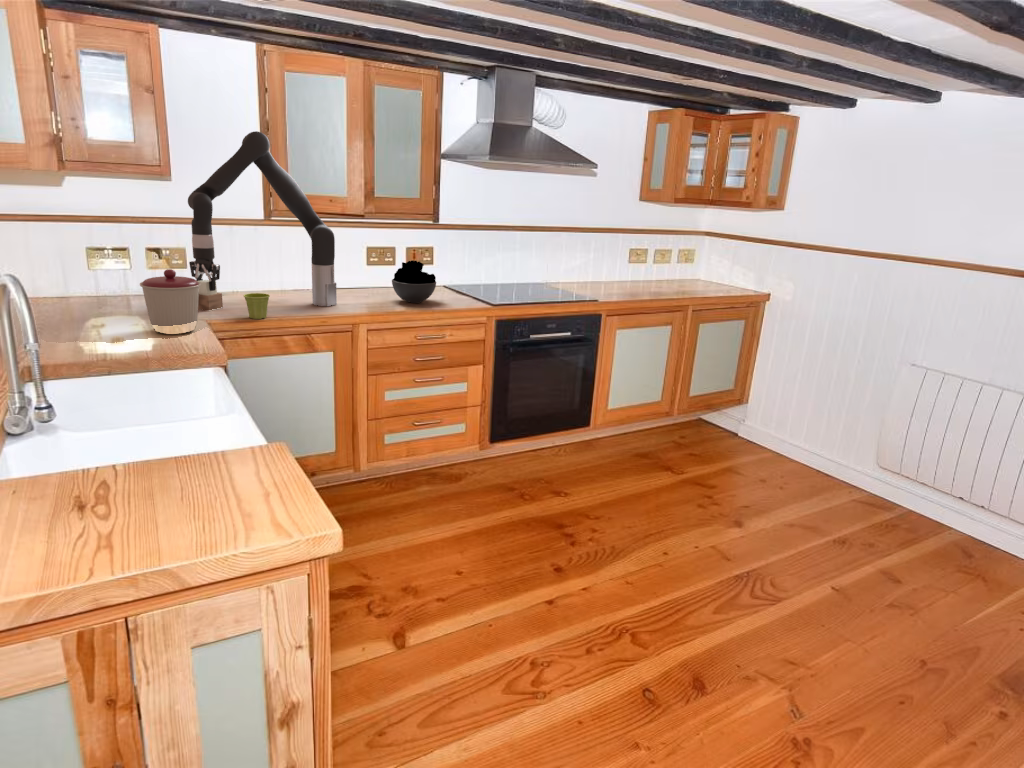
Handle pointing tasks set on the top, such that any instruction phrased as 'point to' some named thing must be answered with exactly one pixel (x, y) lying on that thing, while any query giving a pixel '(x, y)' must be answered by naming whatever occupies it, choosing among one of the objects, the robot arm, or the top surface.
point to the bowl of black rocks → (413, 282)
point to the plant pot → (257, 305)
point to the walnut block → (210, 301)
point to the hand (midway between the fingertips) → (206, 289)
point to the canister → (171, 299)
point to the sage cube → (206, 288)
